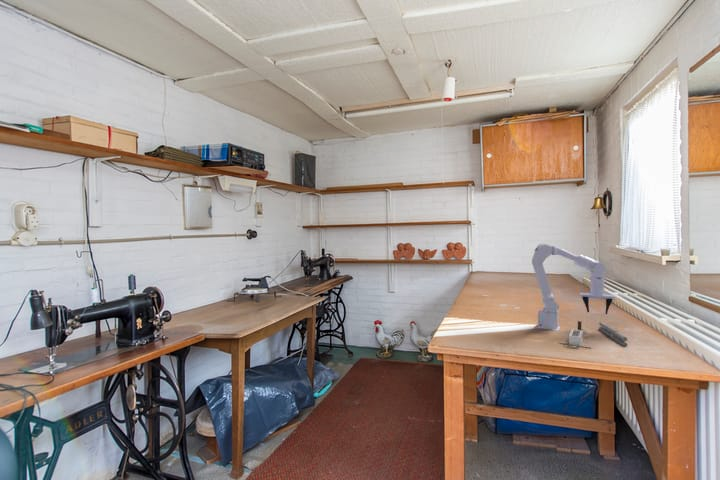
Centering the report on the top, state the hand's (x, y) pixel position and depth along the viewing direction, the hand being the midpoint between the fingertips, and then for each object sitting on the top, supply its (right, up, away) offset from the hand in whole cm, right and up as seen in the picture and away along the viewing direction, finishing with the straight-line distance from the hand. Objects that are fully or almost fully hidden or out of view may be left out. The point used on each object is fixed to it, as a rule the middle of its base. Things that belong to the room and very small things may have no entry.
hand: (597, 312), depth 180 cm
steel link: (-20, -10, -16) cm, 28 cm away
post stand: (-11, -10, -4) cm, 15 cm away
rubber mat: (-20, -10, -16) cm, 28 cm away
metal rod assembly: (0, -10, -11) cm, 15 cm away
